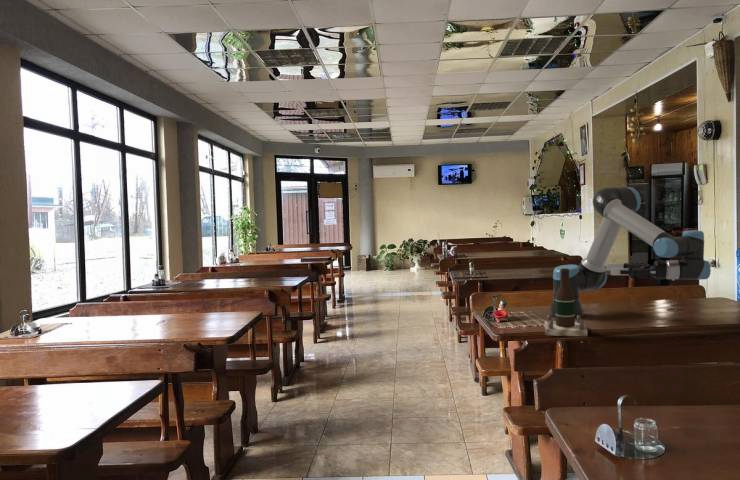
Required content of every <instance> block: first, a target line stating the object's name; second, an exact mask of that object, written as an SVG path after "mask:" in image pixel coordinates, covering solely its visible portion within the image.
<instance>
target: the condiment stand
mask: <svg viewBox="0 0 740 480" xmlns="http://www.w3.org/2000/svg"><path fill="white" fill-rule="evenodd" d="M544 331H545V335H546V336H557V337H559V336H562V337H588V329H587V326H586V324H585V323H584V321H582V317H581V316H580V315H577V318H576V321H575V325H574V326H573V327H559V326H557V325H556V320H553V319H552V316H551V315H550V314H547V320H544Z"/></svg>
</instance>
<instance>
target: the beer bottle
mask: <svg viewBox="0 0 740 480" xmlns="http://www.w3.org/2000/svg"><path fill="white" fill-rule="evenodd" d="M560 272H561V277H560V288H559V289H558V291H557V293H556V296H555V320H554V321H556V325H557V326H559V327H573V326H574V325H575V322H576V318H575V296H574V293H573V291H572V290H571V288H570V282H569V269H567V268H562V269H560Z"/></svg>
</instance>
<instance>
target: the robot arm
mask: <svg viewBox="0 0 740 480" xmlns="http://www.w3.org/2000/svg"><path fill="white" fill-rule="evenodd" d="M592 205H593V208H594V210H595V211H596V212H597V214H599V215H600V216H601V217H602V220H601V223H600V225H599V227H598V230H597V232H596V234H595V236H594V239H593V241H592V244H591V246H590V248H589V251H588V253H587V255H586V257H585V258H582V259H581V262H580V263H579V265H577V264H564V265H563V264H562V265H558V266H555V268H554V269H553V274H552V280H553V281H552V282H553V283H552V284H553V286H552V287H553V291H552V293H553V299H552V301H551V305H550V308H549V315H551V317H555V296H556V293H557V291H558V289H559V288H560V277H561V272H560V269H562V268H567V269H569V282H570V288H571V290H572V291H573V293H574V296H575V319H577V315H580V316H581V318H582V317H584V309H583V306H582V304H581V300H580V292H587V291H595V290H598V289H601V288H602V287H604V285H605V284H606V283H607V279H608V275H607V274H608V273H607V271H610V276H629V277H643V276H653V277H654V280H655V279H656V280H665V279H666V280H671V281H674V282H675V281H676V280H687V281H689V280H693V281H697V280H698V281H699V280H708V279H709V278H710V276H711V271H712V270H711V264H710V262H709V261H708V260H706V259H704V256H705V255H704V253H705V233H704V232H703V231H702V230H695V229H692V230H683V231H682V234H681V236H673V235H671V234H669V233H668V232H666V231H665V230H663V229H661V228H660V227H659V226H657V225H656V224H654V223H652V222H650V221H649V220H648V219H646V218H644V217H643V216H642V215H640V214H638V213H637V211H638V210H639V209H640V207H641V205H642V198H641V196H640V192H638V190H636V189H635V188H634V187H632V186H625V185H624V186H616V187H614V186H613V187H611V186H610V187H603V188H600V189H598V190H597V191H596V193H595V194H594V195H593V198H592ZM621 228H624V229H625V230H627V231H628V232H629V233H631V234H633V235H634V236H636V237H637V238H639V239H640V240H641V241H643V242H644V243H646V244H647V245H649V246H651V247H653V251H654V253H655V255H656V256H658V257H660V258H666V259H667V258H675V257H681V260H676V259H674V260H672V259H671V260H662V259H661V260H654V262H653V265H650V264H649V263H645V264H644V263H643V264H642V263H628V262H625V263H624V262H623V263H606V261H607V259H608V257H609V255H610V252H611V251H612V248H613V246H614V244H615V241H616V240H617V237H618V235H619V232H620V230H621ZM605 264H606V266H605Z"/></svg>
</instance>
